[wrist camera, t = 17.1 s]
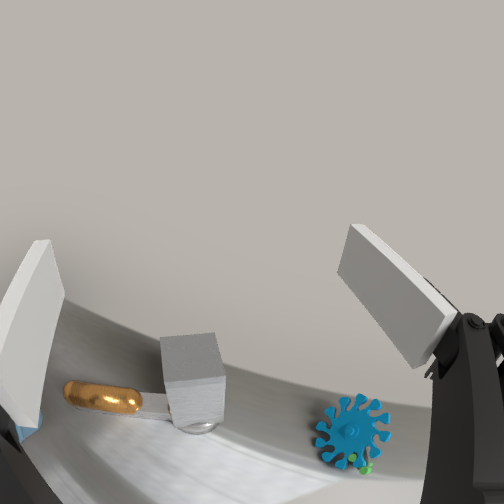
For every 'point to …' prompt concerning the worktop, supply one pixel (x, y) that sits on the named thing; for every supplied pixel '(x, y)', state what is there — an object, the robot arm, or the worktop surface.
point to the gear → (353, 433)
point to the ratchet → (125, 403)
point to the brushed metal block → (193, 379)
